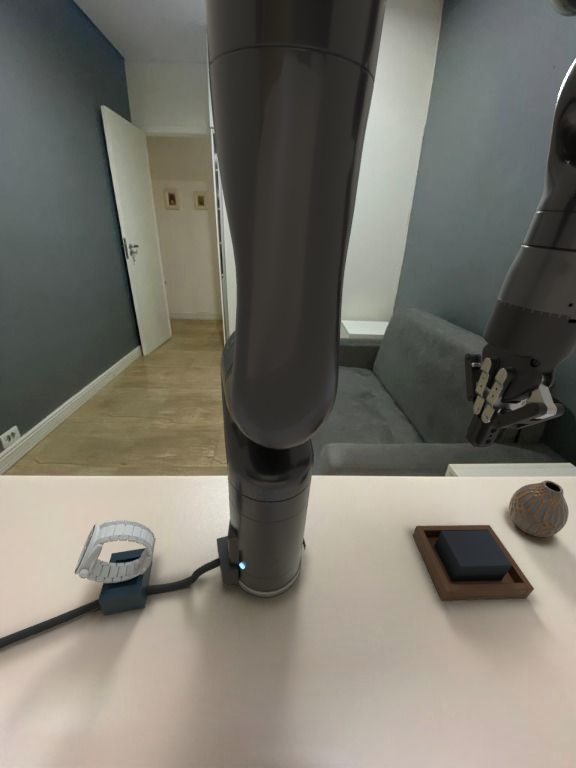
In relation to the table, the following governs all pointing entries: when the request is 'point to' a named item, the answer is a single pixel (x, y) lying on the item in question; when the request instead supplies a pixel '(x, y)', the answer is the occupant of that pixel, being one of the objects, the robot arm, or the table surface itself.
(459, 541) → the dark blue rectangular block
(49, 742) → the table surface
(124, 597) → the watch
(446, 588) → the brown tray
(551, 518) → the vase
